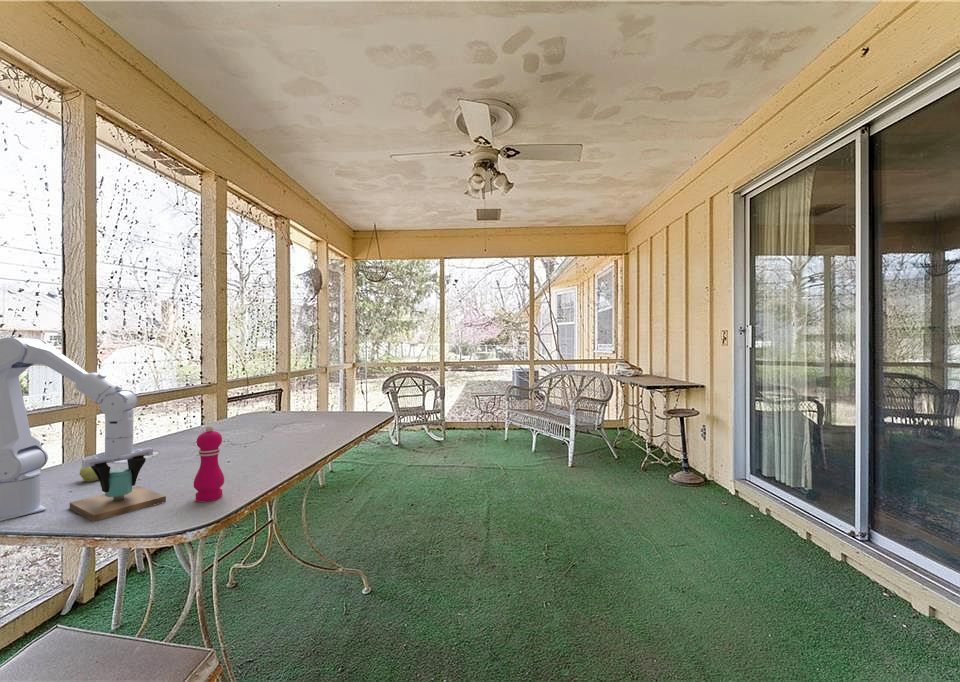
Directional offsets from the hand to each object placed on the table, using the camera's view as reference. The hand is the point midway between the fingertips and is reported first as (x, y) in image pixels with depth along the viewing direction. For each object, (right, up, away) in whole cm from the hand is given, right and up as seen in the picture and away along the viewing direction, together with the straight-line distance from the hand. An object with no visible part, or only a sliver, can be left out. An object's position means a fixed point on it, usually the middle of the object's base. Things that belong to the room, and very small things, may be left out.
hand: (118, 488), depth 112 cm
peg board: (0, -4, 0) cm, 4 cm away
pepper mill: (+21, -5, +5) cm, 22 cm away
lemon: (-26, -5, +21) cm, 34 cm away
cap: (0, -1, 0) cm, 1 cm away
